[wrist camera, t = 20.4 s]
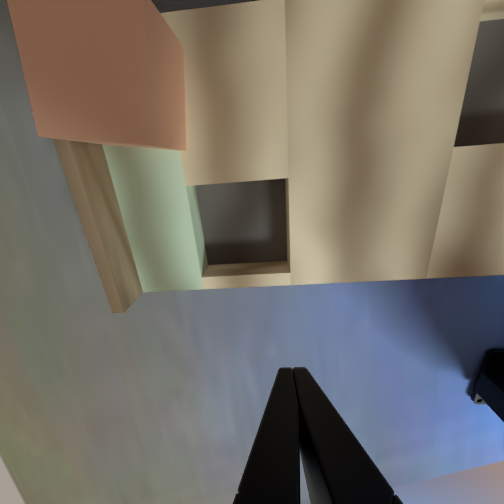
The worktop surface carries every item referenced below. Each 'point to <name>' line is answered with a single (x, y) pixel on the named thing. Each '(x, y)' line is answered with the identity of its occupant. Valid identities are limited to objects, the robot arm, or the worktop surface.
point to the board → (311, 152)
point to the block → (102, 71)
